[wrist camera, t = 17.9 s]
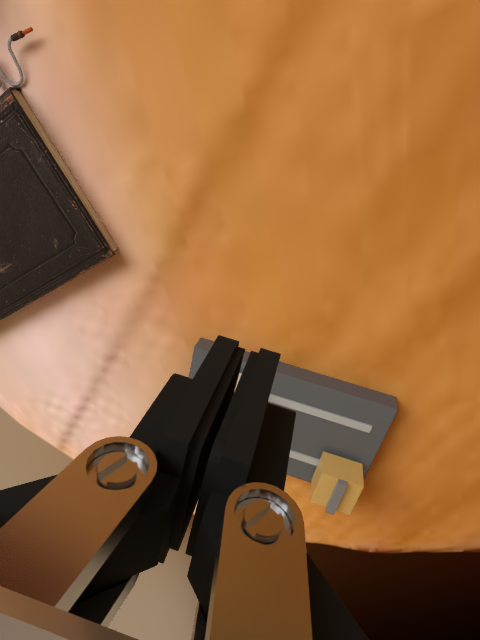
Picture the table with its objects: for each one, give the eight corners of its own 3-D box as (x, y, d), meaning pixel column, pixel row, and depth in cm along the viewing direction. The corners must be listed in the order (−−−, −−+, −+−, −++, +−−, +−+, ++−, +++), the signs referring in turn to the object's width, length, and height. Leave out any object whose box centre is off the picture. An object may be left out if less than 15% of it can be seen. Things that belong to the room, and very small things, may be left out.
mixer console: (395, 397, 40) (398, 410, 38) (354, 482, 46) (354, 498, 44) (200, 337, 42) (193, 347, 41) (183, 426, 48) (176, 439, 46)
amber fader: (362, 463, 41) (364, 491, 38) (349, 491, 43) (349, 520, 40) (323, 451, 42) (321, 477, 39) (311, 478, 44) (309, 506, 41)
